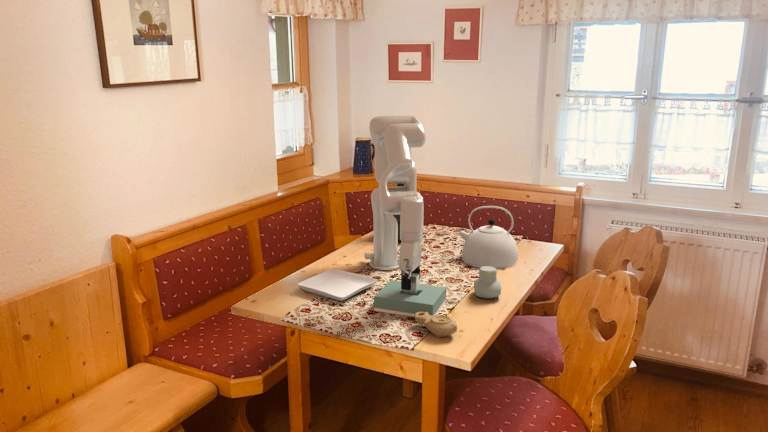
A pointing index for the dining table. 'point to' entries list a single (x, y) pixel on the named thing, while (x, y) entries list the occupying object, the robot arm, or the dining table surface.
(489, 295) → the air freshener
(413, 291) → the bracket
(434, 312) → the well block
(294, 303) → the dining table surface
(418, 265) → the robot arm
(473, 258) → the kettle
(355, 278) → the salad plate
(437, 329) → the oil lamp
